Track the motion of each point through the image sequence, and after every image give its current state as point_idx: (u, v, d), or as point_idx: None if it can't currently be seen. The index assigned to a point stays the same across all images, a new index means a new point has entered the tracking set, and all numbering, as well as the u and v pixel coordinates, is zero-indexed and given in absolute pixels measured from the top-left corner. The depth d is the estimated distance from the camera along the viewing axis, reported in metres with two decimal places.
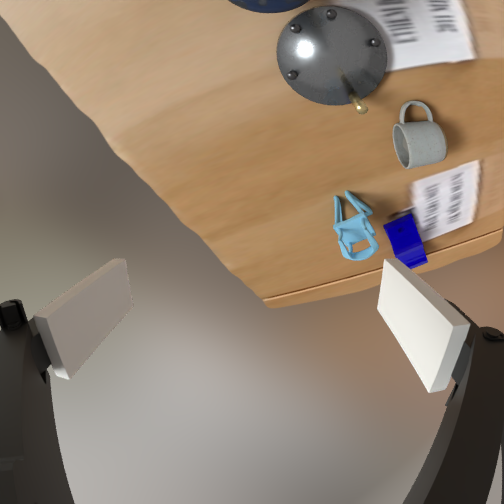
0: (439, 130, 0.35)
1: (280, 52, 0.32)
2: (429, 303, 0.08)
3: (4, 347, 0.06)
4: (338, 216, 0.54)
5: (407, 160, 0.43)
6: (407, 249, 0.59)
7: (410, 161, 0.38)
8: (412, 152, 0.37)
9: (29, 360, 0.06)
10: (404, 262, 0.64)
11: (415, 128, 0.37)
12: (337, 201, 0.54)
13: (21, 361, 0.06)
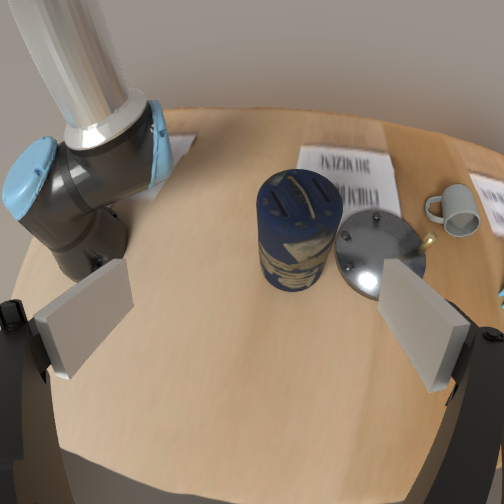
0: (448, 188, 0.44)
1: (365, 289, 0.41)
2: (429, 303, 0.08)
3: (4, 347, 0.06)
4: None
5: (473, 224, 0.42)
6: None
7: (473, 212, 0.39)
8: (466, 209, 0.39)
9: (29, 360, 0.06)
10: None
11: (447, 207, 0.43)
12: None
13: (21, 361, 0.06)
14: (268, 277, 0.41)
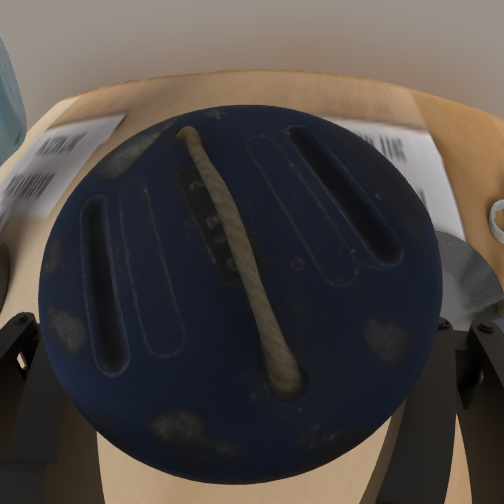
0: None
1: None
2: None
3: None
4: None
5: None
6: None
7: None
8: None
9: None
10: None
11: None
12: None
13: None
14: None
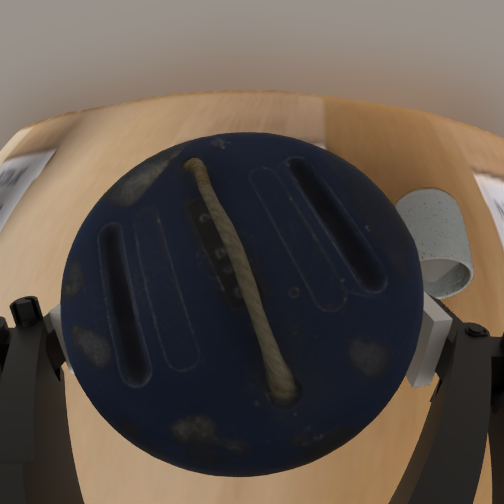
0: (404, 199, 0.23)
1: None
2: None
3: (18, 345, 0.06)
4: None
5: (459, 275, 0.21)
6: None
7: (458, 258, 0.17)
8: (441, 251, 0.18)
9: (43, 358, 0.06)
10: None
11: None
12: None
13: (35, 359, 0.06)
14: None
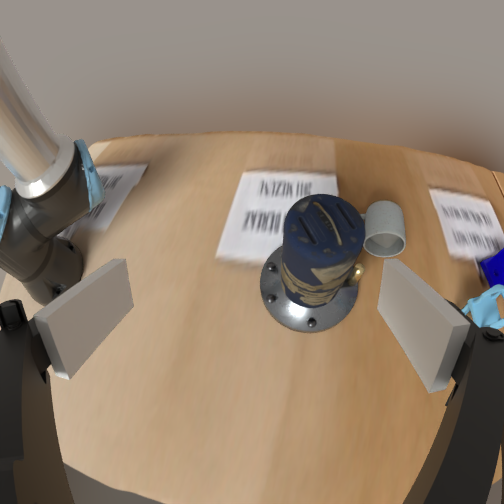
0: (371, 206, 0.48)
1: (286, 321, 0.43)
2: (429, 303, 0.08)
3: (4, 347, 0.06)
4: None
5: (401, 243, 0.46)
6: None
7: (394, 233, 0.42)
8: (385, 229, 0.43)
9: (29, 360, 0.06)
10: None
11: (366, 227, 0.47)
12: None
13: (21, 361, 0.06)
14: (290, 295, 0.42)
